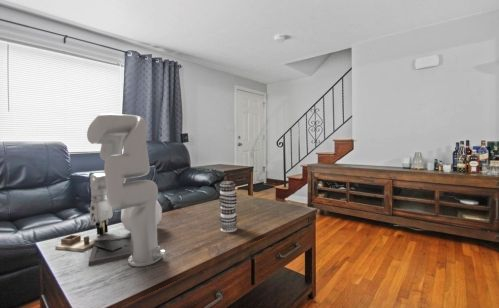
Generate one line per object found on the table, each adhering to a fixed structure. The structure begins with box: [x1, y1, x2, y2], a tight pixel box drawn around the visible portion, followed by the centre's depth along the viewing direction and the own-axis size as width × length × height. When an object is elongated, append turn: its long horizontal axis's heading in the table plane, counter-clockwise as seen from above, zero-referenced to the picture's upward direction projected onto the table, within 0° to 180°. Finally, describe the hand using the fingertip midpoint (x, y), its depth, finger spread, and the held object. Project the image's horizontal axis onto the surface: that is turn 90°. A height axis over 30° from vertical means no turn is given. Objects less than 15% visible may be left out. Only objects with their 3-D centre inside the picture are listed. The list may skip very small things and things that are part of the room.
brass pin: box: [102, 220, 106, 236], centre depth 127 cm, size 2×2×7 cm
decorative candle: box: [218, 180, 238, 233], centre depth 130 cm, size 9×9×25 cm
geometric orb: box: [120, 200, 163, 232], centre depth 129 cm, size 19×20×20 cm
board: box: [54, 234, 102, 253], centre depth 114 cm, size 15×10×4 cm
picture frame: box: [88, 235, 132, 266], centre depth 109 cm, size 16×2×21 cm
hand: (102, 233), depth 127 cm, fingers closed on brass pin, 2 cm apart
